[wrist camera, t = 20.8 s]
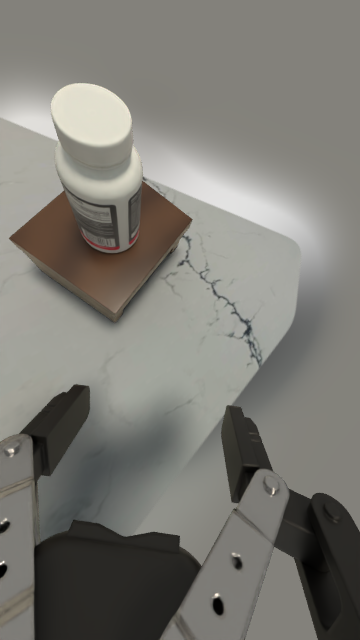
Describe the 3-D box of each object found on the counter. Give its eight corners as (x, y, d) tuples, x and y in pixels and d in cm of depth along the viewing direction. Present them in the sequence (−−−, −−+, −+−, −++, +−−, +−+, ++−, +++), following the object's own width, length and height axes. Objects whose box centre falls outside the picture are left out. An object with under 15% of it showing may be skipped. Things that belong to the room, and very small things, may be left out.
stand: (180, 248, 28) (192, 219, 22) (118, 325, 24) (115, 314, 19) (112, 197, 27) (107, 153, 22) (37, 268, 24) (8, 238, 18)
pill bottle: (117, 195, 21) (107, 61, 12) (150, 238, 21) (166, 137, 12) (67, 219, 19) (9, 85, 10) (102, 265, 19) (76, 173, 10)
